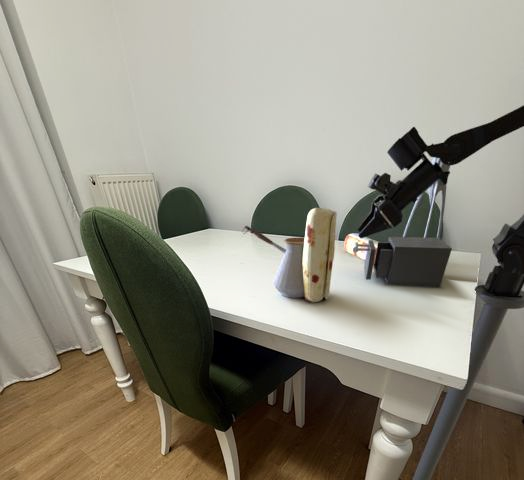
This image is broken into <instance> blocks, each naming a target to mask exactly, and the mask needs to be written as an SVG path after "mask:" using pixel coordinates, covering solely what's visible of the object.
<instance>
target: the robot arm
mask: <svg viewBox="0 0 524 480" xmlns="http://www.w3.org/2000/svg"><path fill="white" fill-rule="evenodd" d="M523 127H524V104H523V105H521V106H519V107H518V108H516V109H514V110H512V111H510V112H508V113H505V114H503V115H502V116H500V117H498V118H495V119H494V120H492V121H490V122H487V123H483V124H480V125H478V126H475V127H472V128H469V129H466V130H463V131H460V132H457V133H454V134H452V135H450V136H449V137H447V138H445V140H444V141H443V142H438V143H431V144H430V145H428V144H427V143H426V141H424V139H423V138H422V137H421V135H420V134H419V131H418V129H417V128H416V126H412V127H411V128H410V129H409V131H407V132H405V134H403V135H402V136H401V137H399V138H398V139H397V140H396V141H395V142H394V143H393V144H392V145H391V146H390V148H389V149H388V150H387V155H389V157H390V158H391V160H392V161H393V162H394V164H395V165H396V166H397V167H398V169H399V170H400V171H401V172H402V171H403V170H407V172H408V171H410V170H411V169H412V168H413V167H414V166H416V167H415V168H414V169H413V170H411V171H410V172H409V173H408V174H407V175H406V176H405V177H404V178H403V179H399V180H397V181H396V182H393V181H391V179H392V176H391V174H389V173H387V172H384V173H382V174H381V175H380V174H377V173H374V174H373V176H372V178H371V179H370V181H369V183H368V184H367V187H368V188H369V189H371V190H373V191H376V192H378V193H380V194H378V195H377V196H376V197H374V199H372V200H373V201H372V202H371V207H370V211H369V213H368V214H367V215H366V217H365V218H364V220H363V221H362V222H361V224H360V225H359V226H358V228H357V231H358V232H359V233H358V234H359V235H358V236H359V237H360V238H364V237H369V236H371V235H375V234H378V233H380V232H383V231H387V230H389V229H393V227H394V228H396V227H397V226H398V225H399V224H401V223H402V222H403V217H404V216H403V211H404V210H405V209H406V208H407V207H408V206H410V205H411V204H412V203H414V204H415V203H416V201H417V200H418V199H417V198H418V197H419V196H420V195H421V194H423V193H424V194H425V193H426V192H427V191H426V190H427V189H428V188H430V187H431V186H432V185H433V184H434V183H435V182H437V181H439V183H440V184H441V185H442V186H443V185H445V184H446V185H447V184H448V180H449V176H450V174H451V171H450V170H449V171H448V172H444V171H443V170H442V168H441V167H440V166H439V164H438V163H437V162H436V163H435V164H434V165H433V164H432V161H430V159H429V158H428V157H427V156H426V154H425V153H427V154H428V156H429V157H430V158H434V157H435V158H439V159H440V161H441V162H442V163H443V164H445V165H450V166H455V165H458V164H460V163H461V162H463V161H465V160H466V159H468V158H469V157H471V156H472V155H474V154H475V153H477V152H478V151H480V150H482V149H483V148H485V147H487V146H488V145H489V144H491V143H492V142H494V141H496V140H498V139H501V138H502V137H504V136H506V135H509V134H511V133H513V132H515V131H517V130H519V129H522V128H523ZM421 160H422V161H421ZM420 161H421V162H420ZM419 162H420V163H419ZM418 163H419V164H418ZM417 164H418V165H417ZM424 194H423V195H424ZM492 241H493V244H492V246H491V251H492V254H493V255H494V257H495V258H496V259H497V264H499V265H494V267H493V268H492V271H490V272H489V273H488V276H487V278H486V280H485V283H484V285H485V286H483V288H484V289H485V290H486V291H487V292H488V293H489V294H491V295H492V296H503V297H520V298H522V297H523V295H522V294H520V291H521V290H522V289H523V287H524V213H523V214H522V215H521V217H520V218H519V219H517V221H515V222H514V223H512V224H511V225H510V224H508V223H504V225H502V228H501V229H500V231H499V233H498V234H497V235H496V236H495V237H494V238H492Z"/></svg>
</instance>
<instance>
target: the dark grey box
mask: <svg viewBox="0 0 524 480" xmlns="http://www.w3.org/2000/svg"><path fill="white" fill-rule="evenodd" d="M387 242H390V243H391V245H392V247H393V249H394V252H393V256H392V261H391V266H390V271H389V276H388V278H384V279H385V282H386V285H387V286H403V287H404V286H406V287H420V288H421V287H423V288H438V289H439V288H441V285H442V282H443V279H444V275H445V273H446V269H447V266H448V263H449V259H450V256H451V254H452V253H451V252H452V250H453V248H452V247H451V246H450V245H449V244H447V243H446V242H445V241H443V240H442V239H441V238H440V239H439V238H437V237H427V238H424V237H419V236H418V237H416V236H415V237H414V236H413V237H411V236H406V237H403V236H389V237H388V241H387Z"/></svg>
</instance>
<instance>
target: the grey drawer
mask: <svg viewBox="0 0 524 480" xmlns="http://www.w3.org/2000/svg"><path fill="white" fill-rule="evenodd" d="M373 240H374V239H372V240H368V244H358V243H357V242H354V243H353V245H352V246H353V252H354V253H357V252H358V251H367V253H366V259H365V261H364V267H363V269H364V274H365V280H372V274H373V271H374V274H375V275H374V276H375V278H377V279H385V278H388V276H389V271H390V266H391V261H392V256H393V252H394V249H393V247H392V245H391V243H390V242H388V241H378V245H377V251H376V249H375V246H374V243H373ZM359 247H367V248H359ZM375 252H376V256H375ZM374 257H375V262H374ZM373 263H374V266H373Z"/></svg>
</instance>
